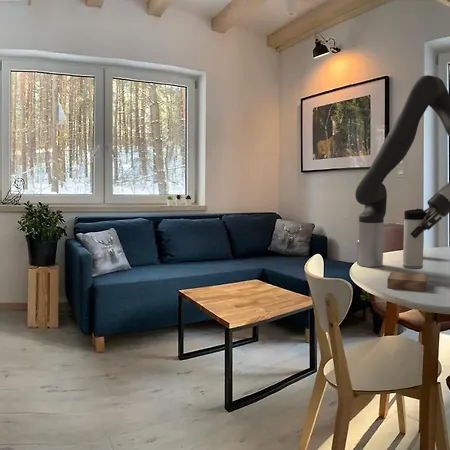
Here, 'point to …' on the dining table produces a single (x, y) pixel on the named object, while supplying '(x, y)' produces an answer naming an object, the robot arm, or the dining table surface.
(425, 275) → the walnut stand
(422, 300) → the dining table surface
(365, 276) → the dining table surface
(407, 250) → the travel mug
